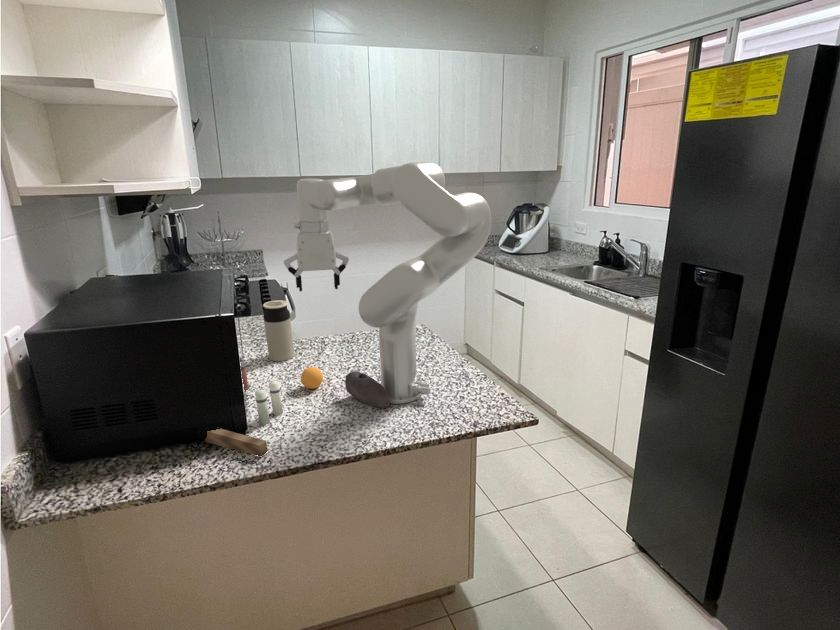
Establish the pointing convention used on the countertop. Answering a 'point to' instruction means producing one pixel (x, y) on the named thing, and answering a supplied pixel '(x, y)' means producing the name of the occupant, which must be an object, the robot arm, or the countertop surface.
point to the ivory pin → (276, 397)
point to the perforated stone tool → (366, 389)
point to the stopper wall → (237, 441)
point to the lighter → (244, 375)
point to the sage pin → (262, 407)
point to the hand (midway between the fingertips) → (318, 288)
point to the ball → (311, 377)
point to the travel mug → (278, 330)
